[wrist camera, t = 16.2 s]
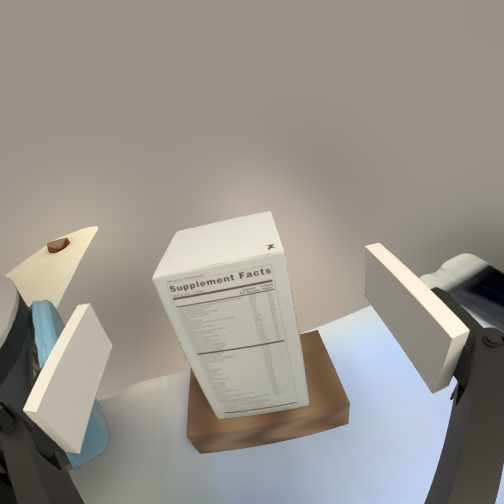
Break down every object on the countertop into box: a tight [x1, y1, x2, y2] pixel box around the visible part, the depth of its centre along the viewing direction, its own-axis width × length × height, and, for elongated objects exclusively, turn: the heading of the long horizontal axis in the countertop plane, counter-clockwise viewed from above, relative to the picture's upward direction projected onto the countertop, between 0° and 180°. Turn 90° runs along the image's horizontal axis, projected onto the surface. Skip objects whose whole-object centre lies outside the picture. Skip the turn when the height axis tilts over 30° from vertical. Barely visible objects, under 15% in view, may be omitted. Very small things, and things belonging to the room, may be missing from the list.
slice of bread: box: [47, 238, 70, 253], centre depth 118 cm, size 18×18×4 cm
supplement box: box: [152, 211, 309, 419], centre depth 27 cm, size 10×9×17 cm
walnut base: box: [187, 330, 350, 453], centre depth 31 cm, size 16×12×4 cm
